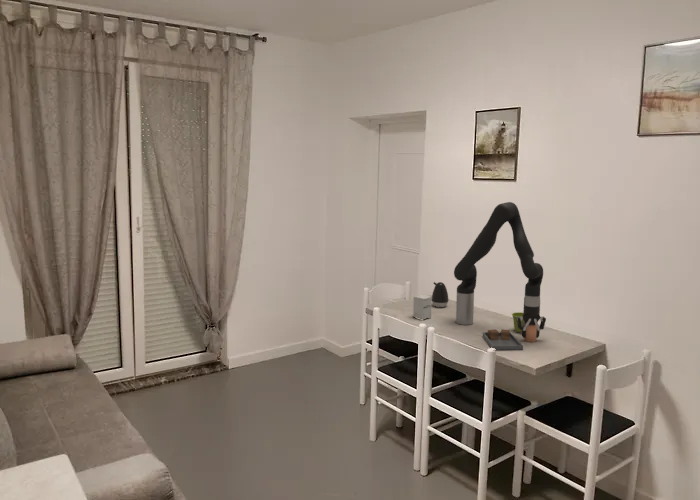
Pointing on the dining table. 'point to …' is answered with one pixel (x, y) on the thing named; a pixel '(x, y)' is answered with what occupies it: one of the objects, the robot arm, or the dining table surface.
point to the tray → (503, 342)
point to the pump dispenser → (440, 295)
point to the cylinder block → (531, 333)
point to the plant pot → (515, 315)
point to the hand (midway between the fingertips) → (530, 337)
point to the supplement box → (422, 306)
